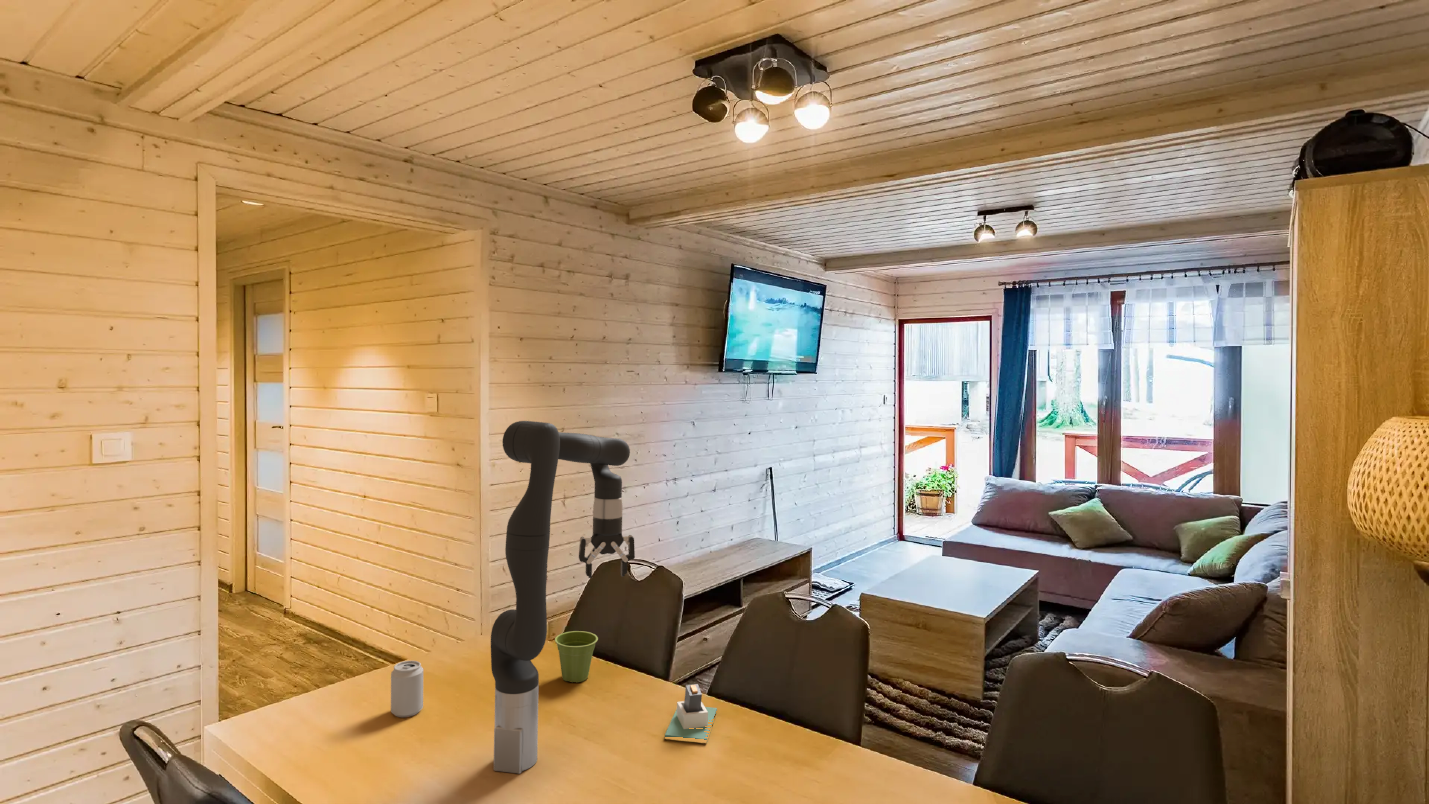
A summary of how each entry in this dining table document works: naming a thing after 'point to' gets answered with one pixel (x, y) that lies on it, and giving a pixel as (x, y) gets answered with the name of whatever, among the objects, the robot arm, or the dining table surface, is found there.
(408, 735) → the dining table surface
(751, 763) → the dining table surface
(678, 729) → the green board
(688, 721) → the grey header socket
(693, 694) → the dark grey rectangular block
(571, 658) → the plant pot
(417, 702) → the can
